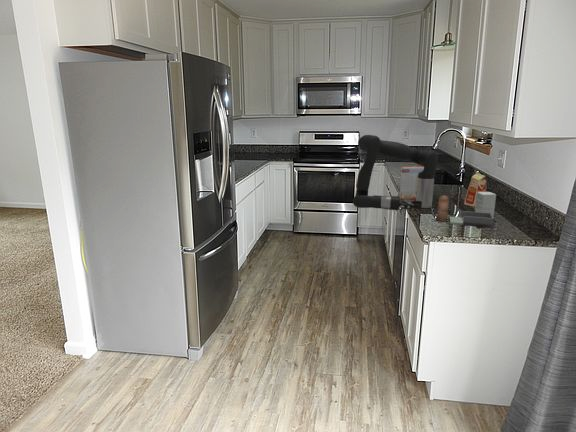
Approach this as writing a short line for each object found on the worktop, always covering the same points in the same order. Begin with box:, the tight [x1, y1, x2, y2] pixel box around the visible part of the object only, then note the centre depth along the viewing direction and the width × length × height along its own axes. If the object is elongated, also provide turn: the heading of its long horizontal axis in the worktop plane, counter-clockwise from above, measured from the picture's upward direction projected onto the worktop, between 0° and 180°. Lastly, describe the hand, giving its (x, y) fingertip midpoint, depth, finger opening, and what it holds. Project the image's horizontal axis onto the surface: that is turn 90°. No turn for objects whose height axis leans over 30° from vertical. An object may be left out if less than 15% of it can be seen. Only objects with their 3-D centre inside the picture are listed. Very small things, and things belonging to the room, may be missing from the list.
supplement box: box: [474, 191, 497, 216], centre depth 226 cm, size 7×7×13 cm
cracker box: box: [399, 166, 424, 201], centre depth 266 cm, size 14×6×21 cm, turn 84°
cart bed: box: [449, 210, 496, 228], centre depth 212 cm, size 12×20×4 cm, turn 71°
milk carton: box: [463, 171, 487, 207], centre depth 250 cm, size 9×9×20 cm
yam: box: [436, 194, 450, 223], centre depth 215 cm, size 5×5×14 cm
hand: (421, 205), depth 218 cm, fingers open, 8 cm apart
